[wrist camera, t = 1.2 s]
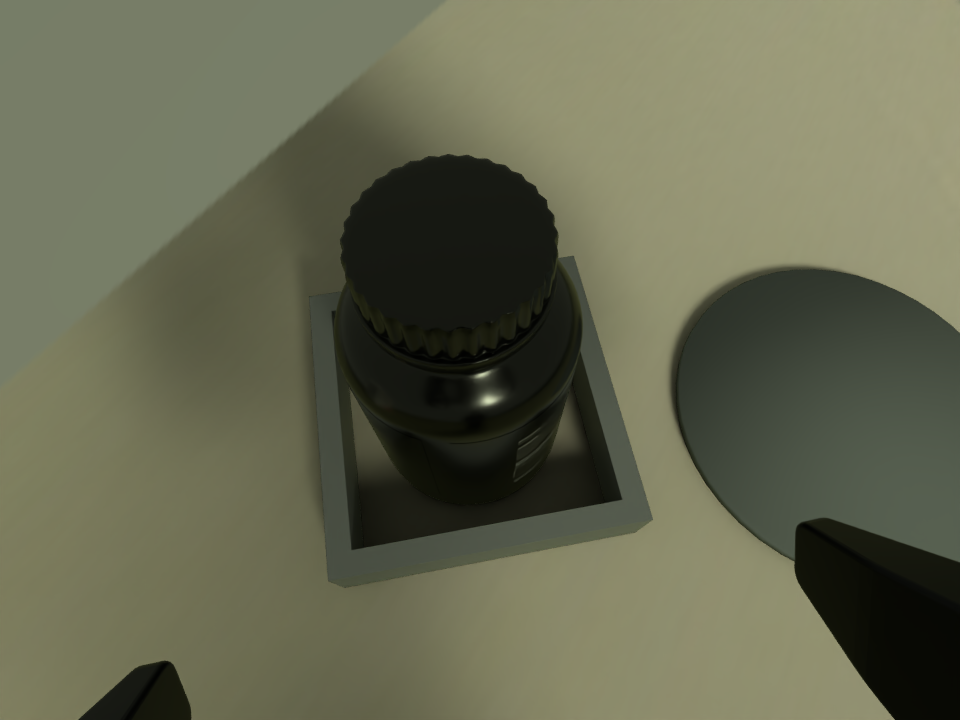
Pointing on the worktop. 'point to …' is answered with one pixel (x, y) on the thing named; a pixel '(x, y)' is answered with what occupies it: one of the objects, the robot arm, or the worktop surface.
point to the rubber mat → (826, 409)
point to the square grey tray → (480, 543)
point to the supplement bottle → (458, 325)
